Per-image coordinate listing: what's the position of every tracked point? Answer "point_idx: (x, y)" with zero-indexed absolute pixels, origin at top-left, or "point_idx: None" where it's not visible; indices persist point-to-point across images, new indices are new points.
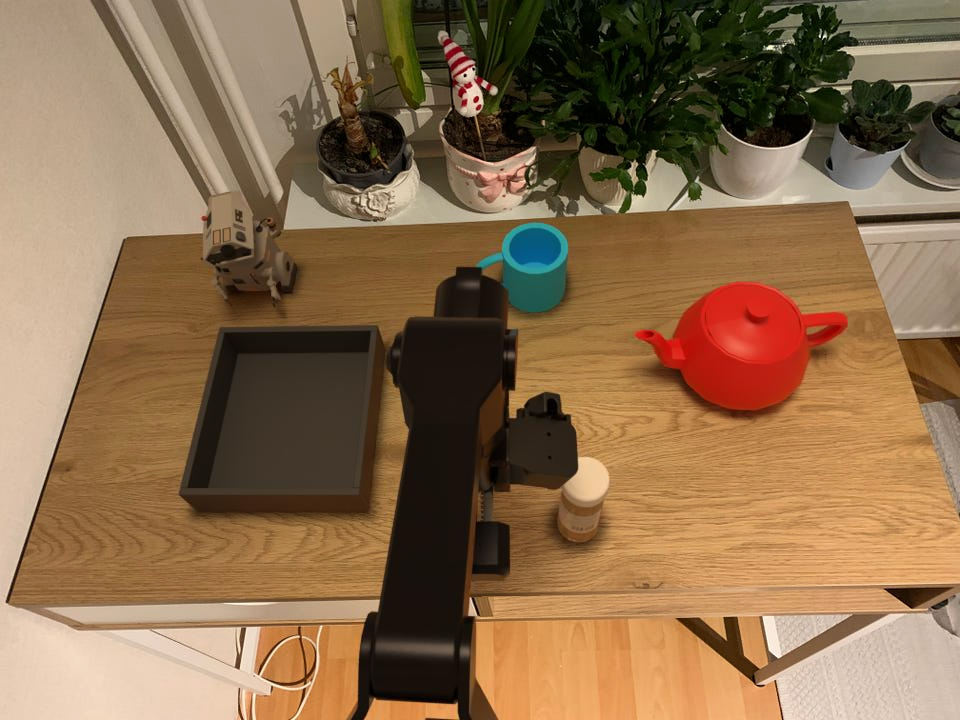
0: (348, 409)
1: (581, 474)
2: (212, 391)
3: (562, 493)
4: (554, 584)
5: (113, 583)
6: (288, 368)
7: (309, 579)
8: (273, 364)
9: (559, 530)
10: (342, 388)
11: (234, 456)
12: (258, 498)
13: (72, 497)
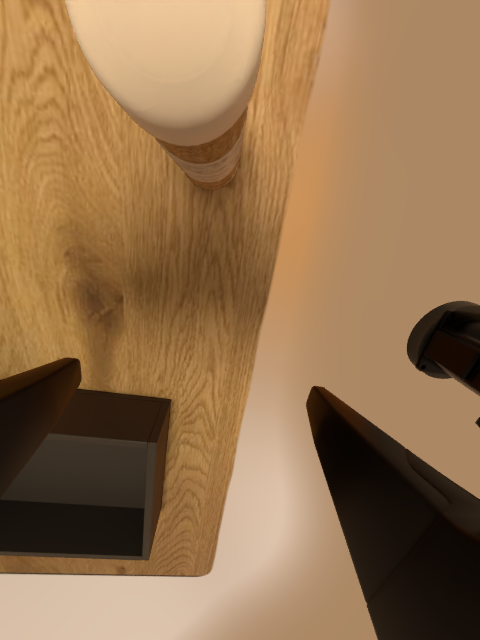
0: None
1: (149, 14)
2: (34, 546)
3: (191, 152)
4: (285, 213)
5: (210, 540)
6: None
7: (228, 442)
8: None
9: (218, 188)
10: None
11: (110, 495)
12: (154, 507)
13: (144, 564)
